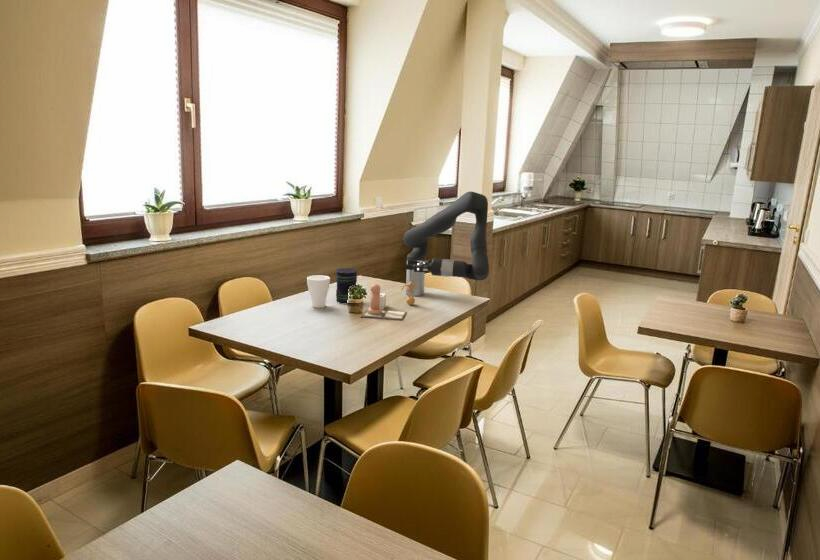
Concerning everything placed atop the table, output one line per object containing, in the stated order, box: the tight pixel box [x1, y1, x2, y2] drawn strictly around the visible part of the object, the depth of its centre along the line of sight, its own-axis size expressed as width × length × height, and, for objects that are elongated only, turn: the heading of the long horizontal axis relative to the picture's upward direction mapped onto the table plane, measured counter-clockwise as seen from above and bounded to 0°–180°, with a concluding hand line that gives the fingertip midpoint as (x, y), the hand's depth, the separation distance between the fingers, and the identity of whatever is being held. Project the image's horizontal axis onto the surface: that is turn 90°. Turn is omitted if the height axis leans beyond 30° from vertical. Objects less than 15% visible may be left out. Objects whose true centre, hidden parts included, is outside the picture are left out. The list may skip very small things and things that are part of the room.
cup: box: [306, 274, 331, 309], centre depth 272 cm, size 10×10×14 cm
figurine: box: [401, 281, 419, 306], centre depth 278 cm, size 8×6×12 cm
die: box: [369, 292, 387, 310], centre depth 274 cm, size 6×6×6 cm
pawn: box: [367, 283, 383, 315], centre depth 261 cm, size 6×6×13 cm
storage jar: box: [335, 268, 358, 304], centre depth 282 cm, size 10×10×15 cm
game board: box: [360, 308, 407, 321], centre depth 262 cm, size 12×18×1 cm, turn 81°
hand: (406, 264), depth 259 cm, fingers open, 8 cm apart
